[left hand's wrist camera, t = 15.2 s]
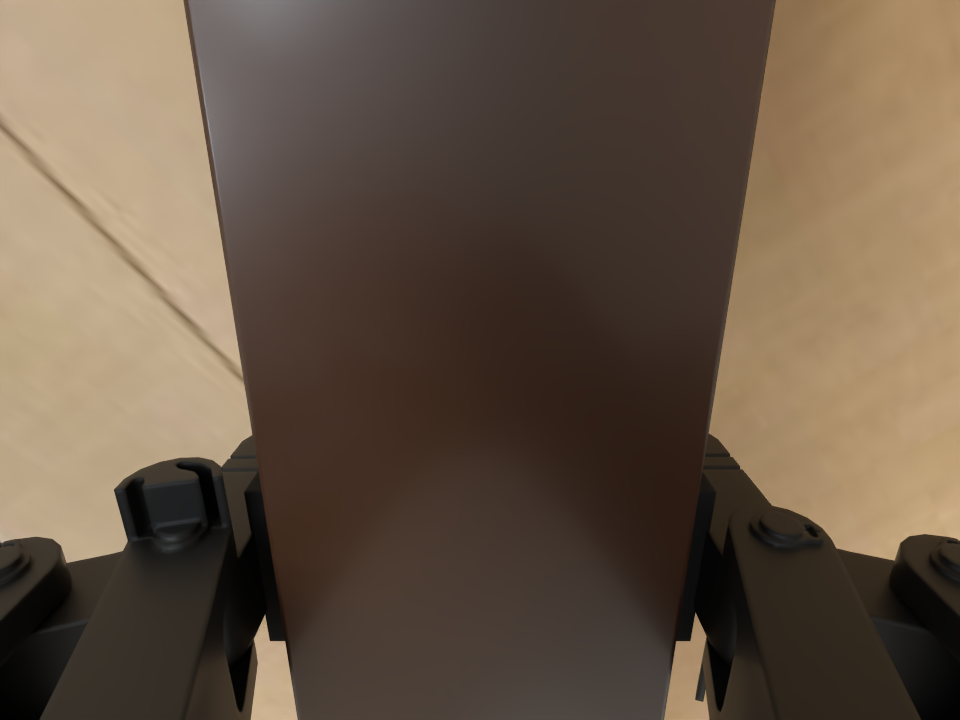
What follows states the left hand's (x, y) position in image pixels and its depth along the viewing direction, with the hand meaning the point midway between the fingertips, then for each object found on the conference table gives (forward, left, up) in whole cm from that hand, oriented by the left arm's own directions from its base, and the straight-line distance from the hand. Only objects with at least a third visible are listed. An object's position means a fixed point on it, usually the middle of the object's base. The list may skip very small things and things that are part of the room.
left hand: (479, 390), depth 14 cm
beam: (0, +10, 0) cm, 10 cm away
